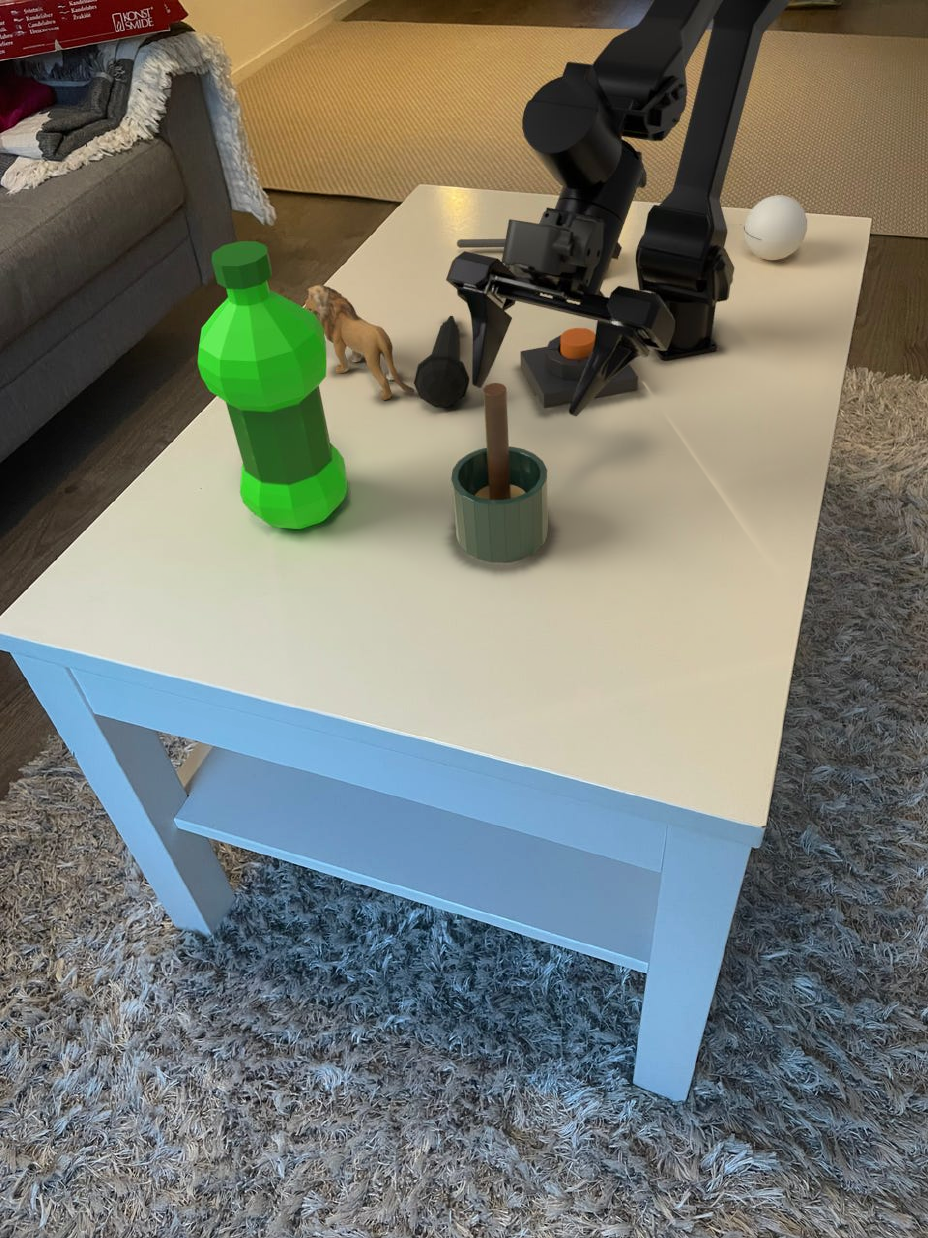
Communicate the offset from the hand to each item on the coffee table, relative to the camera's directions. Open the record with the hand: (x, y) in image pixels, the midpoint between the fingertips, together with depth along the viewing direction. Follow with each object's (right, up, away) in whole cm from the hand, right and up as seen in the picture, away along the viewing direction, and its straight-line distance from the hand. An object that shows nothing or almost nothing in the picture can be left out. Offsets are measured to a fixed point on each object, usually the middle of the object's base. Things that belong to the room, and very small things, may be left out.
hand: (523, 400), depth 79 cm
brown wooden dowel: (-2, -10, +5) cm, 12 cm away
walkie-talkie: (+4, +27, +43) cm, 51 cm away
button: (+7, +10, +20) cm, 23 cm away
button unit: (+7, +7, +23) cm, 25 cm away
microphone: (-6, +9, +26) cm, 29 cm away
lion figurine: (-16, +9, +27) cm, 32 cm away
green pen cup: (-2, -11, +6) cm, 12 cm away
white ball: (+32, +27, +40) cm, 58 cm away
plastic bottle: (-20, -8, +10) cm, 24 cm away
